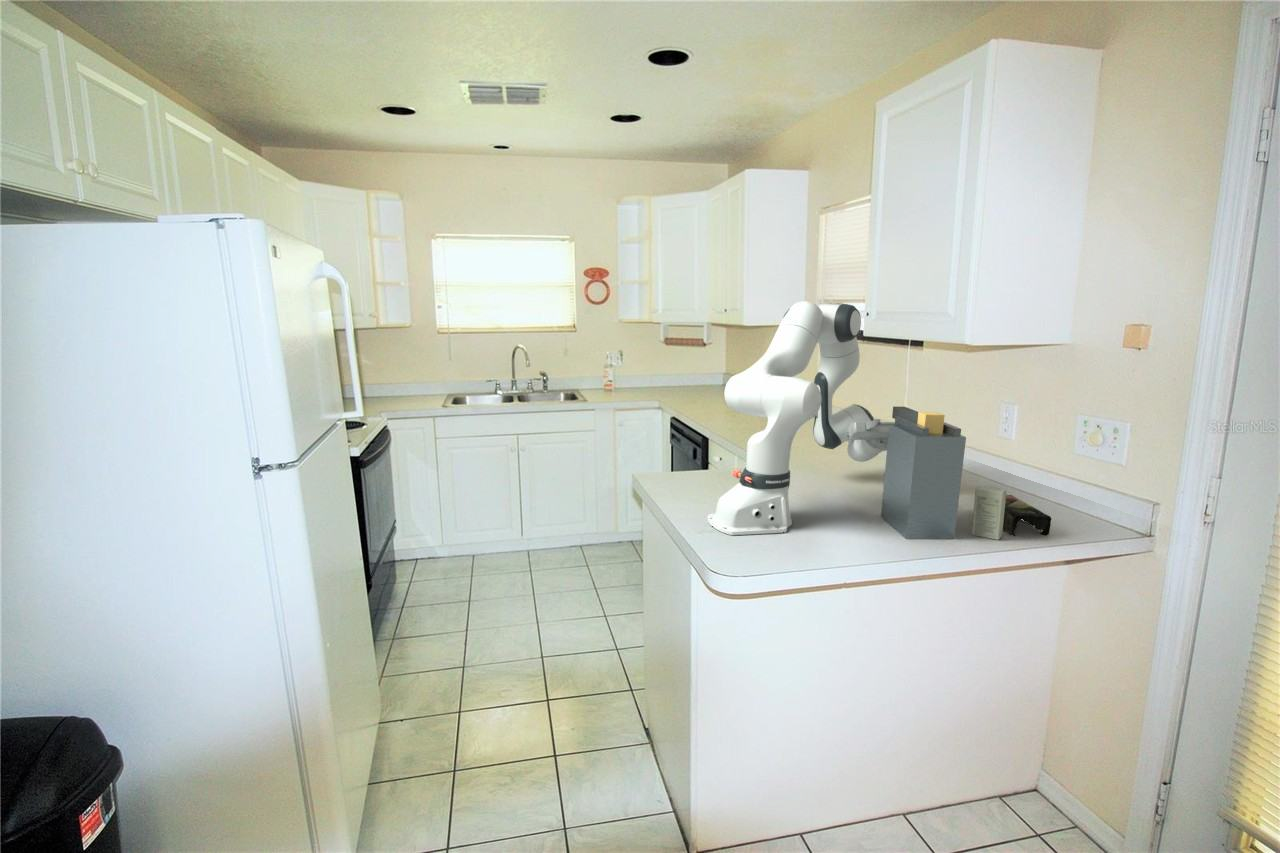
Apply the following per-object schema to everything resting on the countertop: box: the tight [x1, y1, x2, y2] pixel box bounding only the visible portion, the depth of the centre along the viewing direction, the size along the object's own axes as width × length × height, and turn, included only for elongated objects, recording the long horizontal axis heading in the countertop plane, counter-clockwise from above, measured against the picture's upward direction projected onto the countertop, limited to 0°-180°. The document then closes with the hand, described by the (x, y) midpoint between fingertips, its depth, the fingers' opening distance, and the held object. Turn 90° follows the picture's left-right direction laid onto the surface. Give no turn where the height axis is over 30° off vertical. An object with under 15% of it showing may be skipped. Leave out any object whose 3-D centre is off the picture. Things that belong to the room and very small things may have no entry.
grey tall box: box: [880, 416, 967, 540], centre depth 157 cm, size 16×12×28 cm
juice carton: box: [1003, 493, 1053, 537], centre depth 163 cm, size 20×10×6 cm, turn 177°
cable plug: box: [891, 406, 946, 433], centre depth 160 cm, size 21×5×5 cm, turn 0°
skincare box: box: [971, 485, 1007, 541], centre depth 153 cm, size 6×4×12 cm
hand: (894, 421), depth 173 cm, fingers open, 8 cm apart
